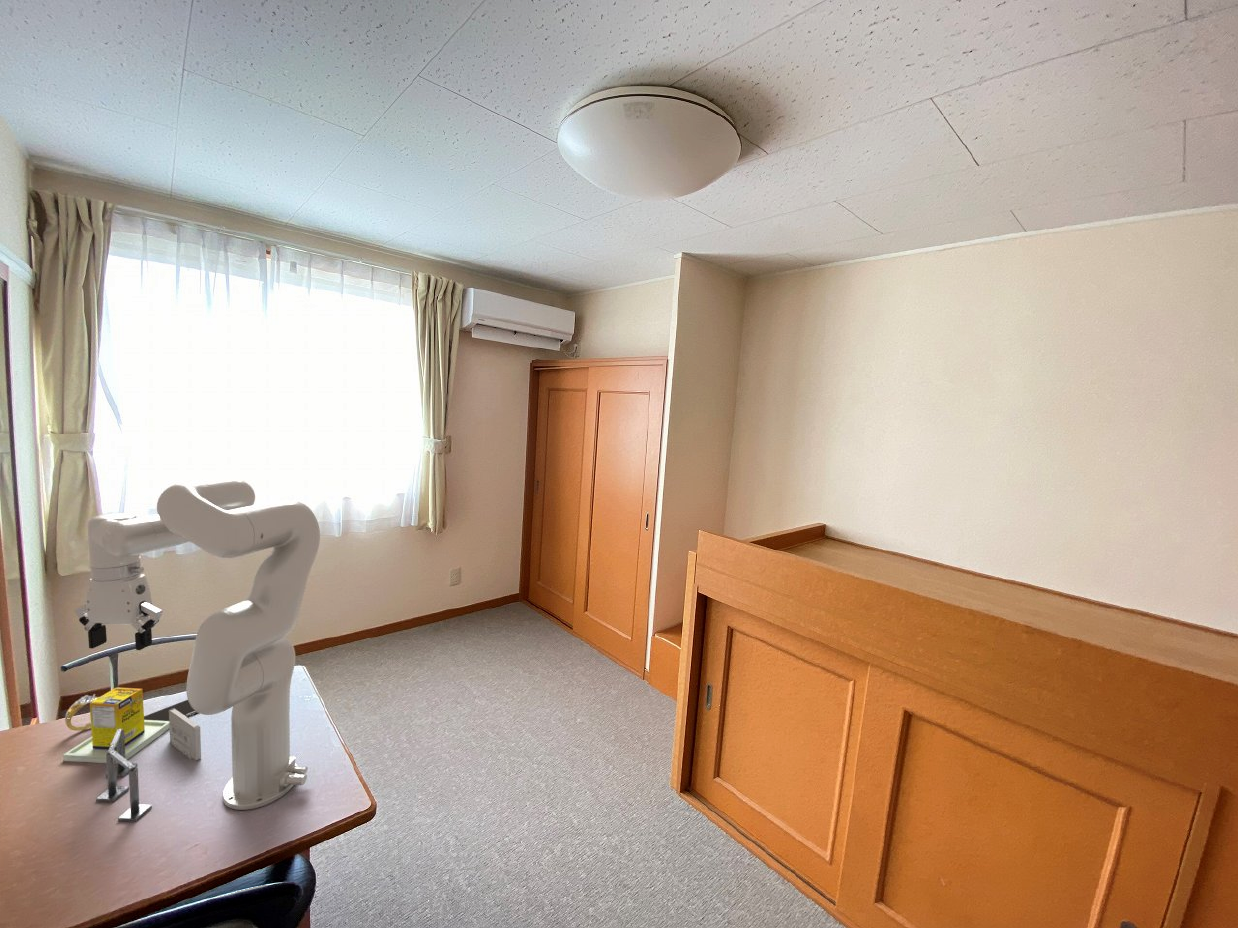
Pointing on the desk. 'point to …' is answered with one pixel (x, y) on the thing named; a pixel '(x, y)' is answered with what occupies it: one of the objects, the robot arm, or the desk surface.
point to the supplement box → (117, 716)
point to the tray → (88, 754)
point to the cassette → (185, 734)
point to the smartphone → (164, 713)
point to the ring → (72, 711)
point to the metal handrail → (120, 771)
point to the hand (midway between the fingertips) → (121, 646)
